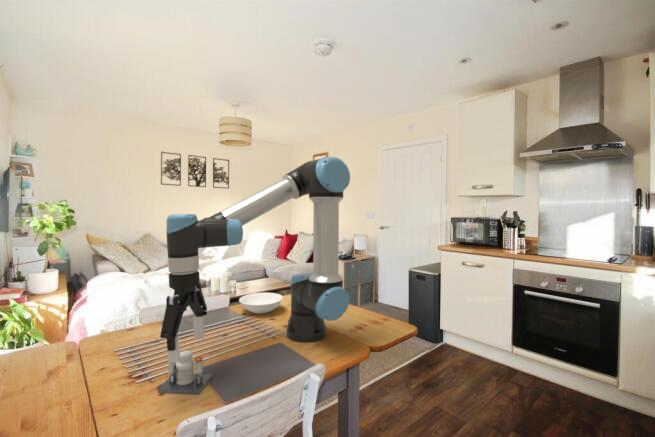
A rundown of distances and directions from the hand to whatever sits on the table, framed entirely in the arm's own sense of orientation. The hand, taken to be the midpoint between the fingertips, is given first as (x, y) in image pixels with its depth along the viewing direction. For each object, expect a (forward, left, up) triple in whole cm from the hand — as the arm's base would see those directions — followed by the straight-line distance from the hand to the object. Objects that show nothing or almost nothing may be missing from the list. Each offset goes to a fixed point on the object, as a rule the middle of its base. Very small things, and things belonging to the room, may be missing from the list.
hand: (187, 349), depth 88 cm
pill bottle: (+1, 0, -9) cm, 9 cm away
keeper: (0, 0, -10) cm, 10 cm away
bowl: (-4, -61, -10) cm, 62 cm away
